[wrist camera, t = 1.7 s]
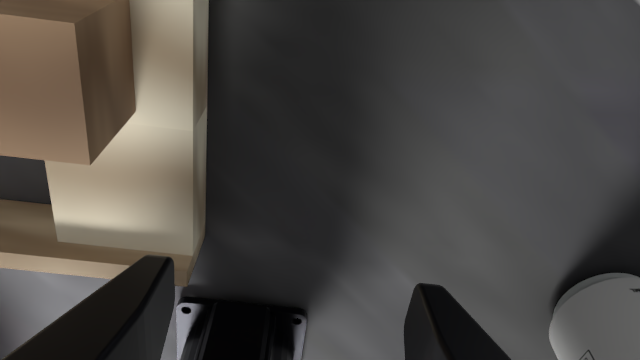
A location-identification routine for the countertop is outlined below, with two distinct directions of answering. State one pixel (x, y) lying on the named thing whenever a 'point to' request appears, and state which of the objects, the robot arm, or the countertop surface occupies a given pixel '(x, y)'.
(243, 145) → the countertop surface
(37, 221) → the box
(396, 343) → the countertop surface
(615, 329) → the energy drink can
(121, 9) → the walnut block
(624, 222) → the countertop surface
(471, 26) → the countertop surface
